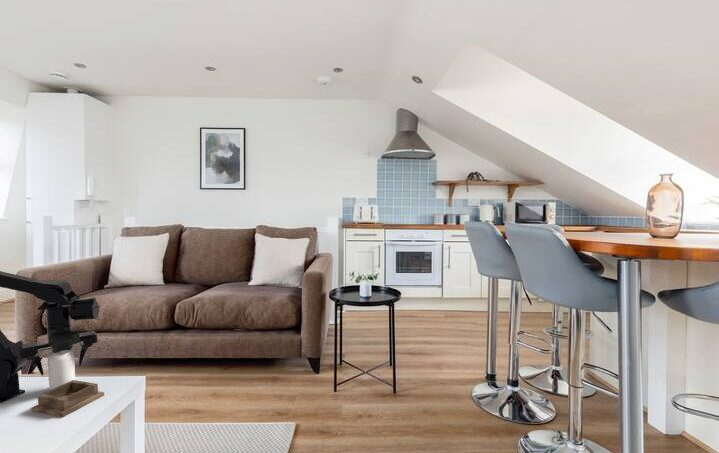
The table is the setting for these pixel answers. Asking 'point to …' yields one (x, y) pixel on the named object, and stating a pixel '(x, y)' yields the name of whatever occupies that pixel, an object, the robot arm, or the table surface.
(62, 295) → the robot arm
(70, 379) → the can
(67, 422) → the table surface
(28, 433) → the table surface
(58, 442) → the table surface
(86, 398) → the socket
